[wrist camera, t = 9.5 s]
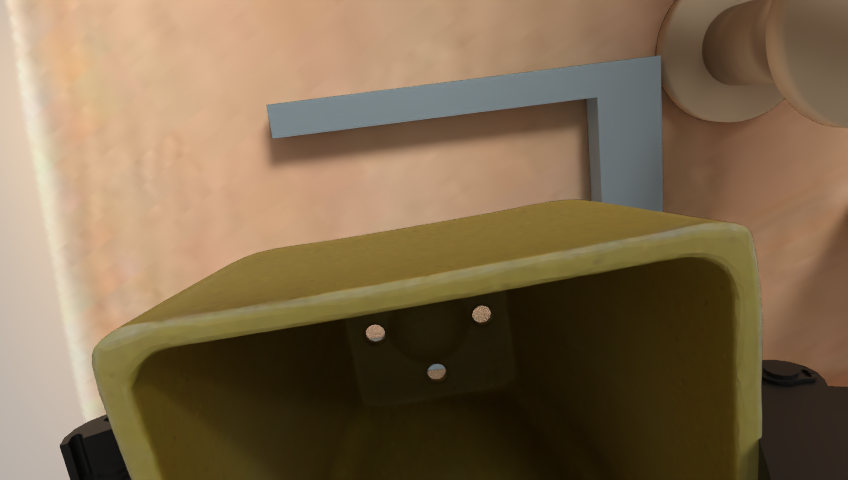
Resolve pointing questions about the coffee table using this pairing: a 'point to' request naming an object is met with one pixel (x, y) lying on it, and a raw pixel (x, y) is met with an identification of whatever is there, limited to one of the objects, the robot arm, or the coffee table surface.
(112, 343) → the flower pot
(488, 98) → the blue-grey u-shaped bracket
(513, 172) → the coffee table surface
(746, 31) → the bobbin
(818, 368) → the coffee table surface
